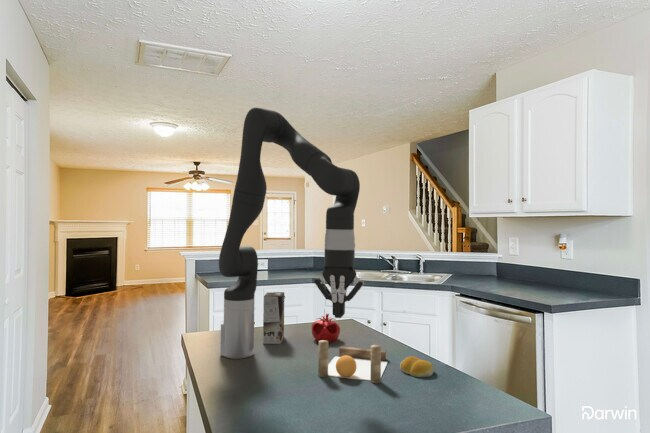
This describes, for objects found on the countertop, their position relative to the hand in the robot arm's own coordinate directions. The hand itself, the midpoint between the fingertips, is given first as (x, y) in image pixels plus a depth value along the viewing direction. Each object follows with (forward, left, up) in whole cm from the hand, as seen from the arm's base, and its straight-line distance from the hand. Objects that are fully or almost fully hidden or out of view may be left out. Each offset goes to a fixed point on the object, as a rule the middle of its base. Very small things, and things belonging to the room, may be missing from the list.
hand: (338, 317), depth 104 cm
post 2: (+8, +7, -17) cm, 20 cm away
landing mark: (+1, +15, -17) cm, 23 cm away
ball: (0, +8, -15) cm, 16 cm away
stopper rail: (+1, +25, -17) cm, 30 cm away
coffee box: (-32, +34, -18) cm, 49 cm away
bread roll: (+18, +18, -18) cm, 31 cm away
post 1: (-6, +7, -17) cm, 19 cm away
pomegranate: (-15, +40, -18) cm, 46 cm away
